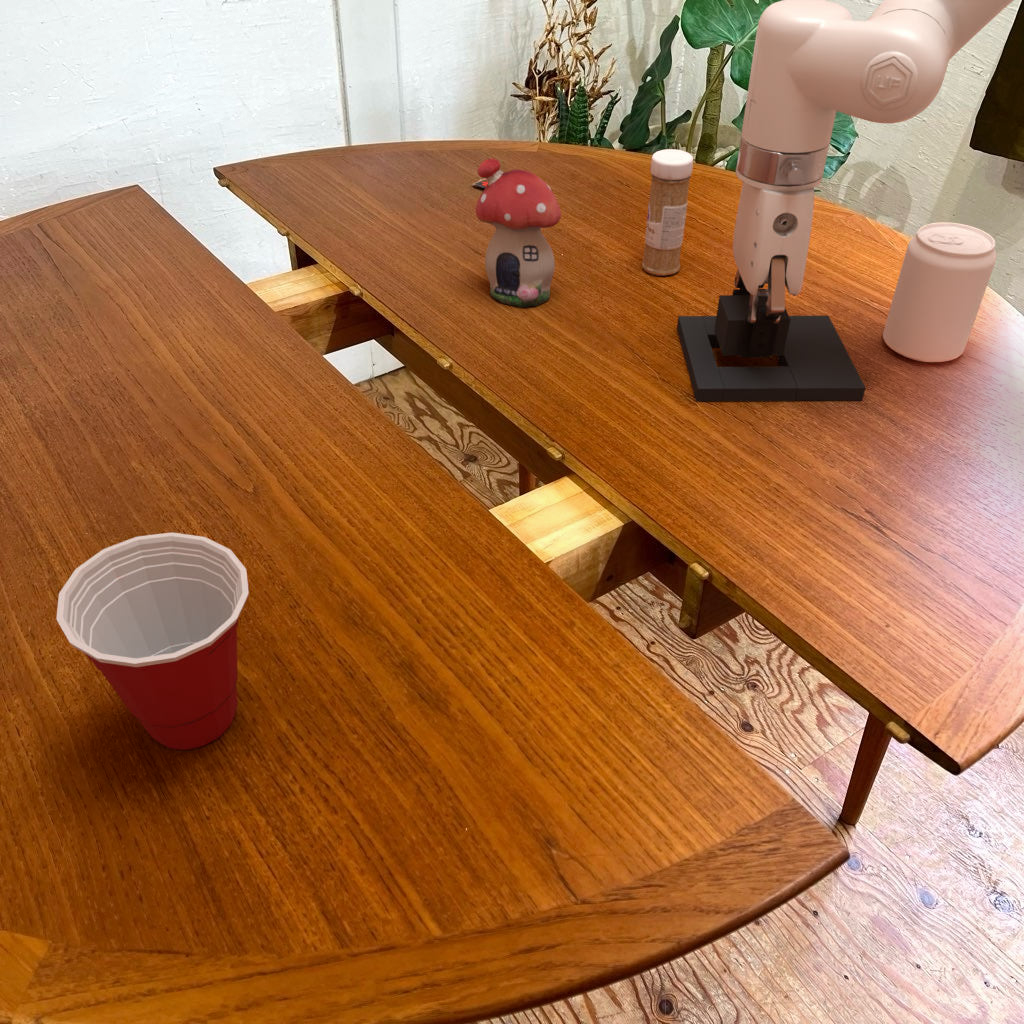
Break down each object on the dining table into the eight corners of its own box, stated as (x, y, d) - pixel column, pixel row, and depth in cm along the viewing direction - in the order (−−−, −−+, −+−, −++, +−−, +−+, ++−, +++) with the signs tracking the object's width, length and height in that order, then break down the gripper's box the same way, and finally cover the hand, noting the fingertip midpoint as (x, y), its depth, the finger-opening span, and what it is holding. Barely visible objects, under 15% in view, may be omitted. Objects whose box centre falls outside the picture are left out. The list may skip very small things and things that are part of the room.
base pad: (825, 327, 103) (828, 315, 102) (862, 400, 92) (865, 387, 91) (676, 328, 103) (678, 315, 102) (696, 401, 92) (698, 388, 91)
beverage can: (963, 373, 96) (1003, 261, 88) (879, 359, 98) (910, 249, 90) (962, 334, 102) (999, 226, 94) (882, 322, 104) (912, 215, 96)
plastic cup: (269, 778, 60) (233, 652, 53) (94, 790, 60) (31, 664, 52) (286, 648, 69) (257, 522, 61) (132, 658, 68) (82, 532, 60)
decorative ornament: (468, 293, 109) (463, 162, 99) (500, 271, 113) (498, 143, 104) (538, 315, 105) (540, 180, 96) (568, 291, 109) (573, 160, 100)
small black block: (772, 330, 98) (779, 294, 96) (783, 355, 94) (790, 319, 92) (714, 330, 98) (719, 294, 96) (722, 356, 94) (728, 319, 92)
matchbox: (501, 194, 130) (500, 191, 130) (468, 187, 132) (468, 184, 132) (517, 183, 133) (517, 179, 133) (485, 176, 135) (485, 173, 135)
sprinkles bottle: (637, 261, 115) (647, 149, 106) (673, 258, 116) (686, 146, 107) (647, 279, 112) (658, 164, 103) (685, 276, 112) (699, 161, 104)
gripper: (850, 198, 78) (806, 387, 90) (801, 125, 91) (768, 299, 103) (757, 198, 78) (726, 387, 90) (722, 126, 91) (698, 300, 103)
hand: (749, 339), depth 96 cm, fingers closed on small black block, 5 cm apart
